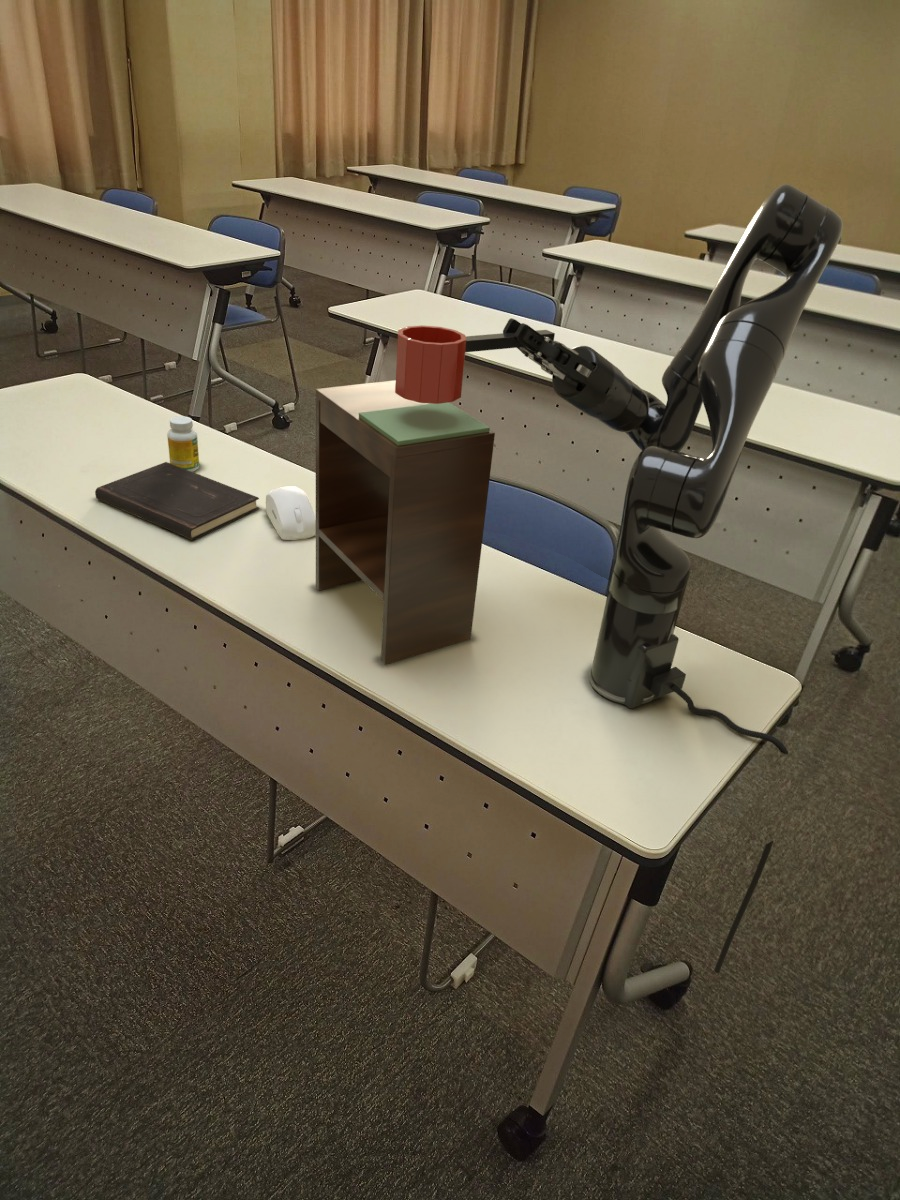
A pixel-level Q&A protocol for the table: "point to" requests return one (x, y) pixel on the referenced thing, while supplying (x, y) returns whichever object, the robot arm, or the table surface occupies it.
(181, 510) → the hardcover book
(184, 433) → the supplement bottle
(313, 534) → the computer mouse
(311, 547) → the table surface
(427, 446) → the shelf
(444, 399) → the pot
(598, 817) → the table surface
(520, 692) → the table surface
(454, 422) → the green flat slab
